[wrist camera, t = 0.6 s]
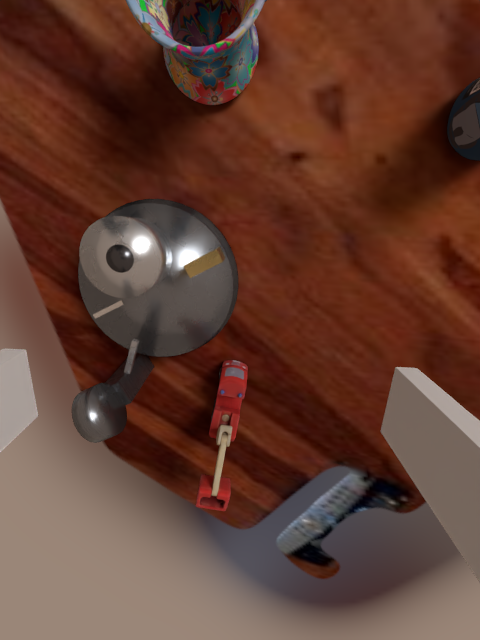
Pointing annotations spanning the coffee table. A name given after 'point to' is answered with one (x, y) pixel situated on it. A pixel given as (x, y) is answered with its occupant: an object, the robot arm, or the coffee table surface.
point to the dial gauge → (111, 398)
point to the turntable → (169, 289)
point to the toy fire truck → (223, 432)
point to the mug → (204, 43)
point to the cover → (125, 255)
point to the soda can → (466, 122)
